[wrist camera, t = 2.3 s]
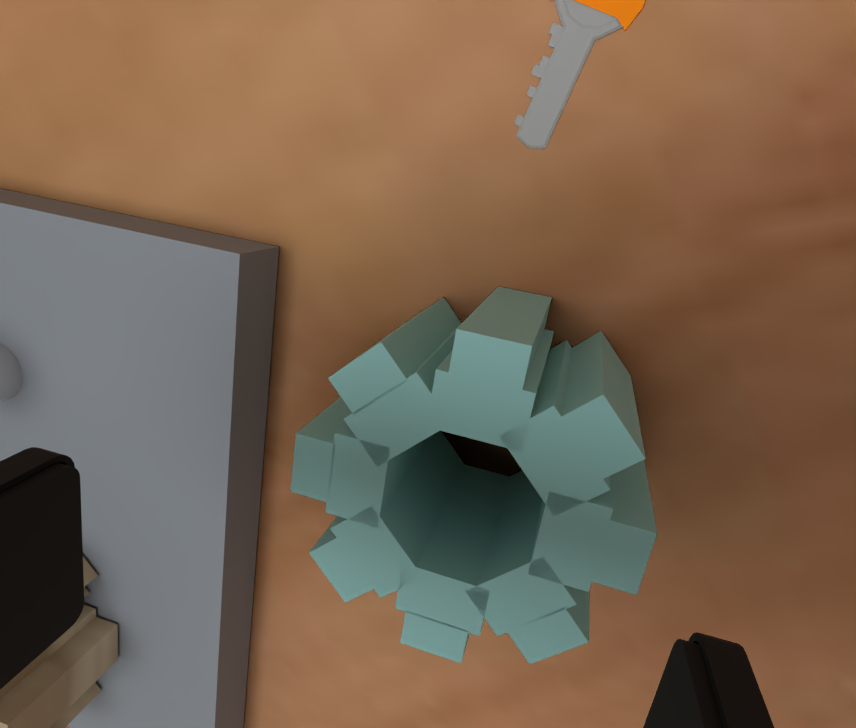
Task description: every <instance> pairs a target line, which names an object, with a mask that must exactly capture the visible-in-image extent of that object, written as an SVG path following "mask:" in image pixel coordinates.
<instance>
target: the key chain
mask: <svg viewBox="0 0 856 728" xmlns="http://www.w3.org/2000/svg"><path fill="white" fill-rule="evenodd" d="M644 2H645V0H555V4H556V7H557V10H558V14H559V17H560V20H561V23H562V25H563V27H562V26H560V25H557V24H555V23H553V24H552V26H551V29H550V31H549V34H551V35H552V37H551V39H550V41H549V44H548V46H550V47H553V48H554V50H553V52H552V54H551V57H550V58H548V57H546V56H544V55H543V58H542V60H541V62H540V65H536V64H535V66H534V68H533V71H532V73H531V74H532V75H534V76H536V77H539V78H541V80H540V82H539V84H538V87H537V88H535V87H533V86H530V88H529V90H528V93H527V95H526V96H529V97H531V98H532V100H531V103H530V105H529V107H528V110H527V112H526V114H525V117H523V116H520V115H518V116H517V118H516V121H515V123H514V124H515V125H517V126H520V128H519V130H518V133H517V135H516V136H517V137H518V138H519V139H520V140H521V141H522V142H523V143H524V144H525V145H526V146H527V147H528V148H538V149H545V148H546V146H547V144H548V142H549V139H550V137H551V135H552V133H553V131H554V128H555V126H556V124H557V122H558V120H559V118H560V115H561V113H562V111H563V109H564V107H565V104H566V102H567V100H568V98H569V96H570V94H571V91H572V89H573V87H574V85H575V83H576V80H577V78H578V76H579V74H580V72H581V69H582V67H583V65H584V63H585V61H586V59H587V56H588V54H589V52H590V50H591V48H592V45H593V43H594V41H595V40H598V39H600V38H602V37H604V36H606V35H608V34H610V33H613V32H615V31H617V30H619V29H621V28H624V30H626V29H627V28H628V26H629V25H630V24H631V23H632V21H633V20H634V19H635V17H636V16H637V15H638V14H639V12H640V11H641V10H642V8H643V6H644Z"/></svg>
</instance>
